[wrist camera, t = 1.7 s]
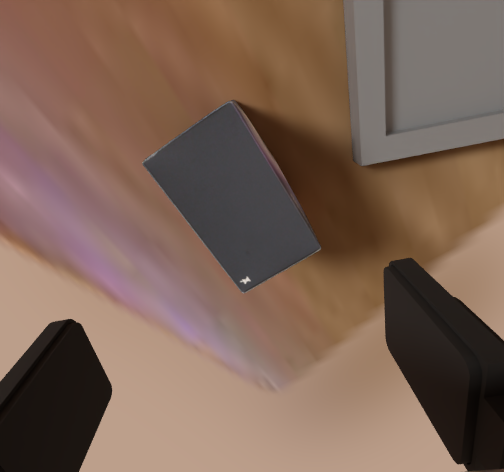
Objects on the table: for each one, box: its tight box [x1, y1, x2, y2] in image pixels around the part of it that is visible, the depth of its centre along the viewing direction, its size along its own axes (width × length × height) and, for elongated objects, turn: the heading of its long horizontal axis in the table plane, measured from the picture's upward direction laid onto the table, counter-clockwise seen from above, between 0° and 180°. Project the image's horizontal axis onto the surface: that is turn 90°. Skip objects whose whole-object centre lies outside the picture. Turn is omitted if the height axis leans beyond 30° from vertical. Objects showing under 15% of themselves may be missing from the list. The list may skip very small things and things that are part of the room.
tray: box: [343, 0, 504, 166], centre depth 23 cm, size 20×16×2 cm
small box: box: [143, 100, 321, 293], centre depth 24 cm, size 11×6×10 cm, turn 33°
